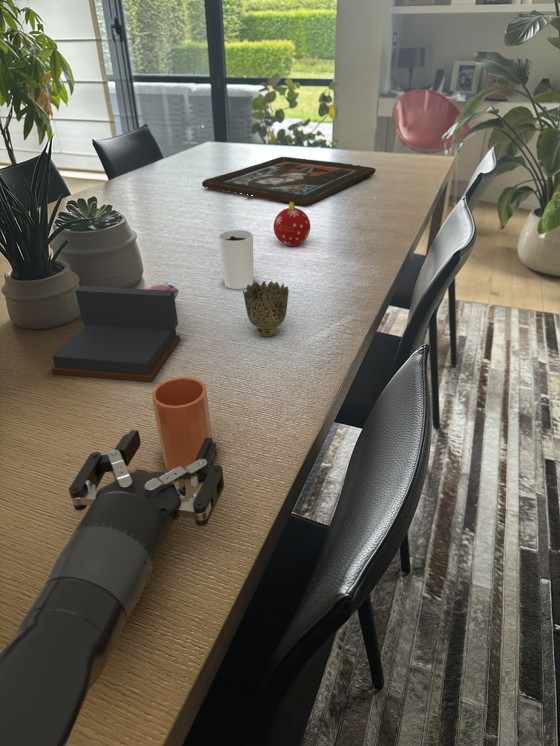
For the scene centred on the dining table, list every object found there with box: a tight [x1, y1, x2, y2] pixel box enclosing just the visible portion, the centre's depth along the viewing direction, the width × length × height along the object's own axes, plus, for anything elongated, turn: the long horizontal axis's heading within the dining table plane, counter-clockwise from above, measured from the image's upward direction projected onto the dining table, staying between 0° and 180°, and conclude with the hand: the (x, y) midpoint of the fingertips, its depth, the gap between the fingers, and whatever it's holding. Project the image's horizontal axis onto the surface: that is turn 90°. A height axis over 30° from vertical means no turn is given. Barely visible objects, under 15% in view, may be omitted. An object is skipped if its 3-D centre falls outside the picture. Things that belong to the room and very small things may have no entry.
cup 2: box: [242, 280, 290, 337], centre depth 91 cm, size 8×7×8 cm
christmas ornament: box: [273, 202, 311, 247], centre depth 128 cm, size 9×9×10 cm
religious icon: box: [201, 156, 377, 206], centre depth 179 cm, size 40×45×3 cm
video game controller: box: [148, 281, 179, 299], centre depth 99 cm, size 10×5×7 cm, turn 147°
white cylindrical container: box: [218, 229, 254, 290], centre depth 109 cm, size 7×7×10 cm
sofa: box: [51, 285, 181, 383], centre depth 86 cm, size 16×13×9 cm
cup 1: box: [151, 376, 213, 476], centre depth 64 cm, size 6×6×10 cm
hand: (172, 439), depth 61 cm, fingers open, 8 cm apart
